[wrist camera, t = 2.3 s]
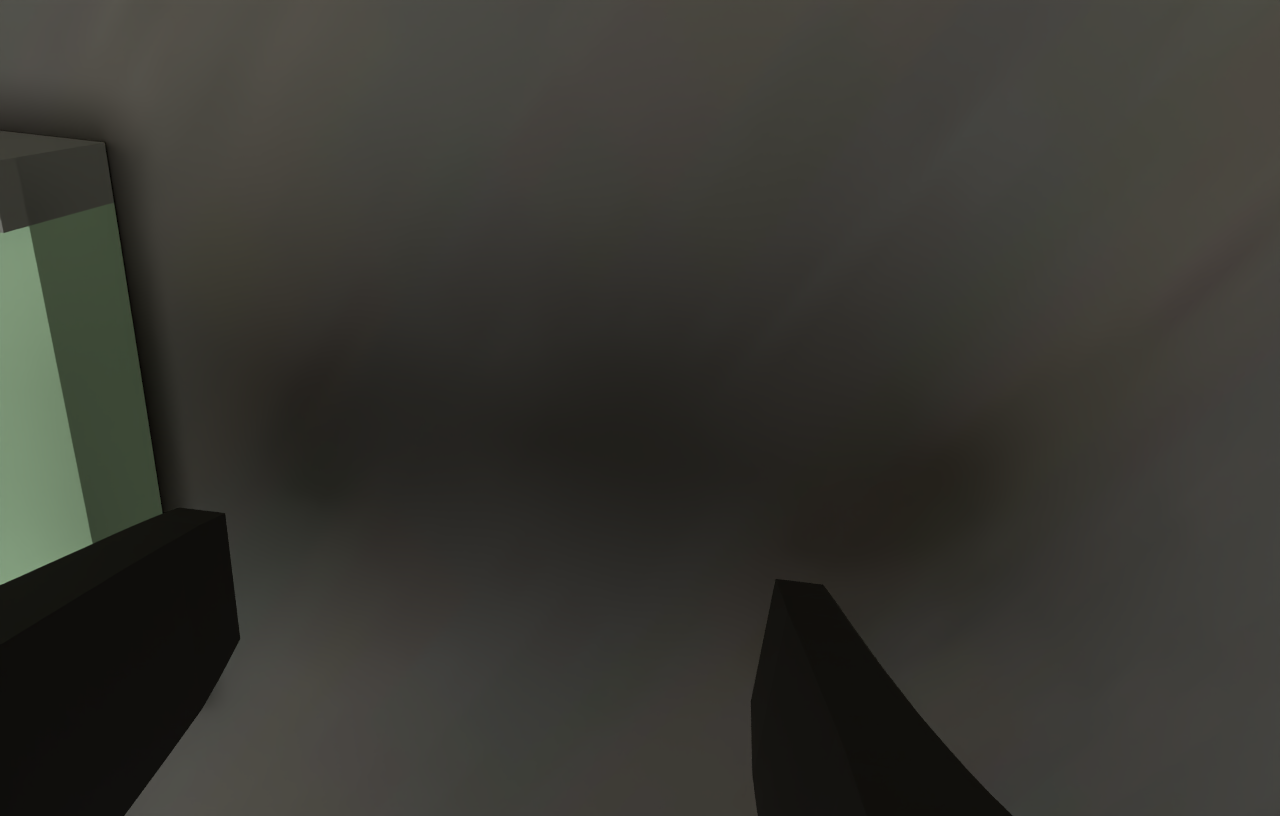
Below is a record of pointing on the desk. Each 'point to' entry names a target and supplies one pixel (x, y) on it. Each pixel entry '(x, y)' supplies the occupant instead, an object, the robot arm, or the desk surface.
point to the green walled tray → (66, 359)
